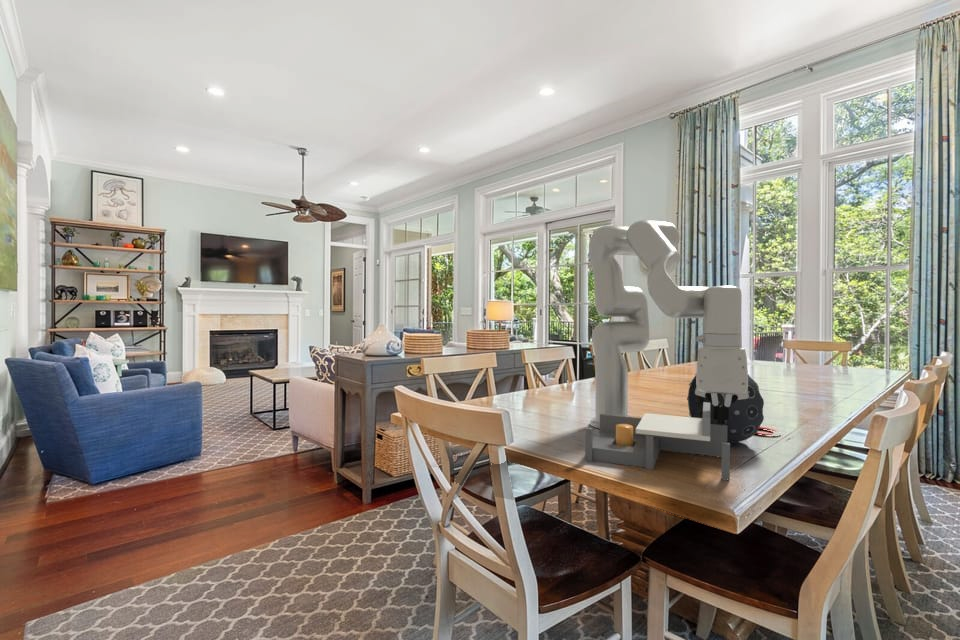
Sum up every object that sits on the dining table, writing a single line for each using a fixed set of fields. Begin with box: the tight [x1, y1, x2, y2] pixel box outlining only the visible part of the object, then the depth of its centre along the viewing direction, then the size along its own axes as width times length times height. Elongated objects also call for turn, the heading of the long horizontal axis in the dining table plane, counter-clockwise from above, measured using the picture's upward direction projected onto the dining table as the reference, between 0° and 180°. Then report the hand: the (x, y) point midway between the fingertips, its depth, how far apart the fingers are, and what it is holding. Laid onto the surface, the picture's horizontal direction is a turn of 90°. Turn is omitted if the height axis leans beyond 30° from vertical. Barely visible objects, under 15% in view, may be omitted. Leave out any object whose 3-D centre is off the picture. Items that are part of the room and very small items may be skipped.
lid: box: [636, 402, 710, 441], centre depth 110 cm, size 17×15×5 cm
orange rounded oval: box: [616, 424, 633, 447], centre depth 115 cm, size 4×4×7 cm
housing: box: [584, 414, 731, 481], centre depth 112 cm, size 17×30×8 cm, turn 64°
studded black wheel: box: [686, 373, 765, 444], centre depth 126 cm, size 11×20×20 cm, turn 6°
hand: (720, 422), depth 106 cm, fingers closed
